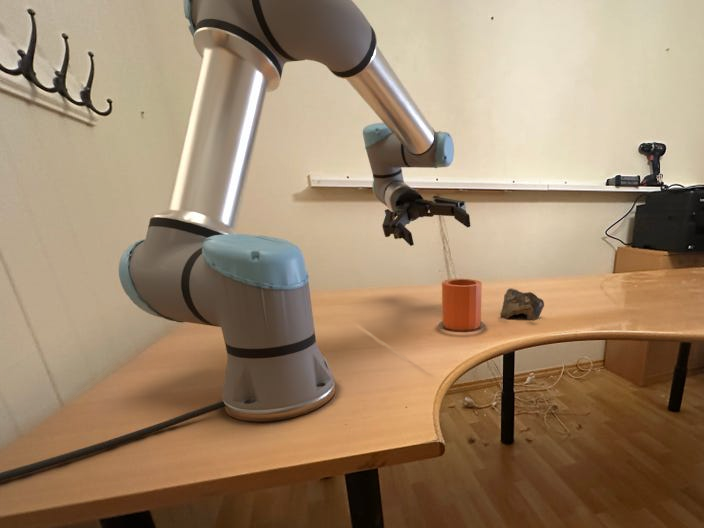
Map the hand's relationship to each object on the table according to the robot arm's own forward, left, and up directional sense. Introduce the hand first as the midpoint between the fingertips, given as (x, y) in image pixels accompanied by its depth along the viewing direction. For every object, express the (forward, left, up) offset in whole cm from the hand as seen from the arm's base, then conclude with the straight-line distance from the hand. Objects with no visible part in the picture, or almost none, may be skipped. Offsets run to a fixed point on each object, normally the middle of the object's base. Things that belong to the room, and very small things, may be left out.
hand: (440, 230), depth 85 cm
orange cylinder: (+4, -2, -21) cm, 22 cm away
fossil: (+22, -3, -22) cm, 32 cm away
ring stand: (+4, -2, -22) cm, 23 cm away
